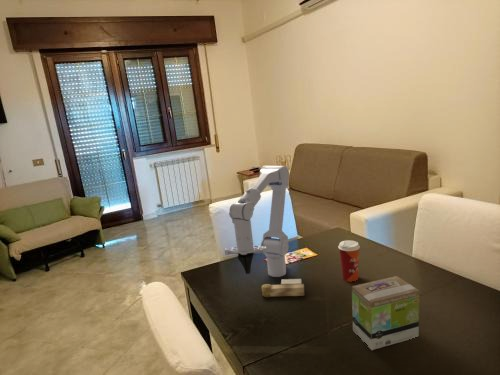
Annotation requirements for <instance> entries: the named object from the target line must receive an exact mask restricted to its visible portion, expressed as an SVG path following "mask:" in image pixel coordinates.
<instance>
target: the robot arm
mask: <svg viewBox="0 0 500 375" xmlns="http://www.w3.org/2000/svg"><path fill="white" fill-rule="evenodd" d="M289 183H290V171H289V169H288V167H287V166H286V165H265V164H264V165H263V166H262V167H261V169H260V170H259V177H258V179H257V180H256V182H255V183H254V185H253V186H252V187H249V188H247V189H246V190H245V192H244V193H243V194H242V195H241V197H240V198H239V199H238V201H235V202H233V203H232V204H231V205H230V207H229V212H228V215H229V217H230V219H231V221H232V224H233V225H234V233H235V239H236V240H235V241H236V246H231V247H225V249H224V254H225V255H224V256H228V255H237V259H238V261H239V262H240V264H241V265H242V267H243V269H244V272H245V274H246V275H250V274H251V272H252V271H251V269H252V268H251V267H252V262H253V259H254V258H253V257H254V256H255V254H263V255H264V256H265V257H266V264H267V265H266V266H267V274H268V276H270V277H273V278H280V277H283V276H285V275H286V274H287V266H286V255H287V253H288V252H289V248H290V247H289V246H290V245H289V236H288V235H287V234H286V233H285V232H284V231H283V223H284V215H285V214H284V212H285V204H286V190H287V188H288V187H289ZM267 187H270V188H271V190H272V195H271V205H270V215H269V216H270V217H269V225H268V230H267V231H265V232H264V233H263V235H262V239H261V242H260V245H255V244H254V239H253V231H252V220H251V219H252V218H253V216H254V210H255V207H256V205H257V204H258V203H259V201H260V200H261V198H262V195H261V193H262V192H264V190H265V189H266V188H267Z"/></svg>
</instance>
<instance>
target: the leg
mask: <svg viewBox="0 0 500 375" xmlns="http://www.w3.org/2000/svg"><path fill="white" fill-rule="evenodd" d="M261 293H262V294H261V295H262V297H264V298H270V297H298V296H299V297H301V296H302V297H303V296H305V284H304V283H301V284H288V285H281V284H270V283H265V284H262V285H261Z"/></svg>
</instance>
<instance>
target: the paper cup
mask: <svg viewBox="0 0 500 375" xmlns="http://www.w3.org/2000/svg"><path fill="white" fill-rule="evenodd" d="M337 247H338V249H339V256H340V267H341V273H342V274H341V275H342V279H343V281H345V282H347V281H348V283H353V282H352V281H355V282H357V281H358V280H359V267H360V266H359V264H360V263H359V262H360V248H361V246H360V244H359V242H358V241H356V240H342V241H340V242H339V244H338V246H337ZM356 280H357V281H356Z"/></svg>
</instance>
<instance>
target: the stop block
mask: <svg viewBox="0 0 500 375" xmlns="http://www.w3.org/2000/svg"><path fill="white" fill-rule="evenodd" d="M288 284H302V278H288V279H287V278H284V279H282V278H281V281H280V285H288Z"/></svg>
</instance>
